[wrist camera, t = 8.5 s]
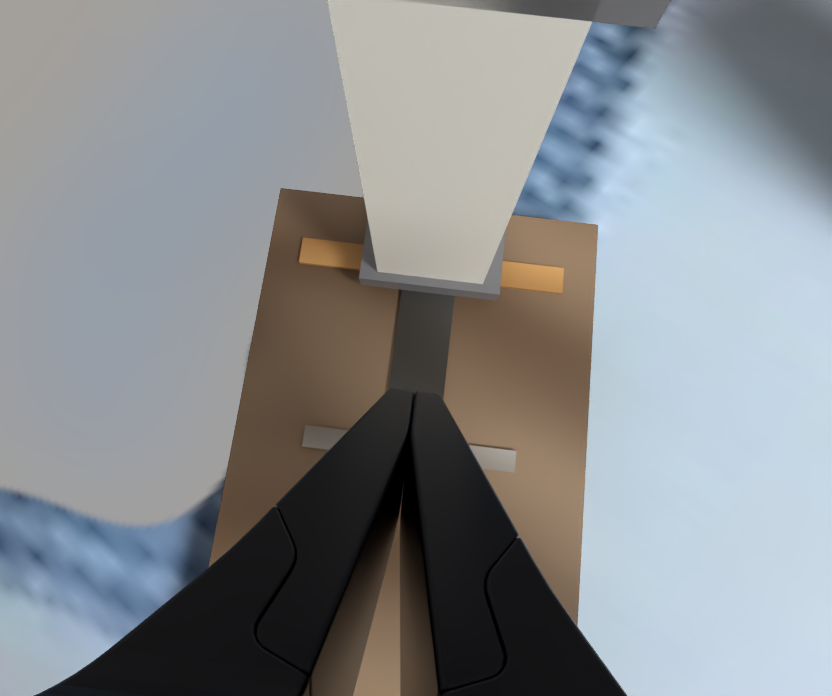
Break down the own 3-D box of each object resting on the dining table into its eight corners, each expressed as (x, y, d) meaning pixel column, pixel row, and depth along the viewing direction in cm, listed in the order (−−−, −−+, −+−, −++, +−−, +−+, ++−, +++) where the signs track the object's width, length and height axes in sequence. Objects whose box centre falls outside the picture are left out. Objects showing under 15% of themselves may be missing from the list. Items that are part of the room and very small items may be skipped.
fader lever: (502, 301, 15) (731, -83, 4) (354, 284, 15) (212, -138, 4) (511, 207, 16) (730, -334, 5) (368, 191, 16) (274, -378, 5)
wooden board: (535, 1052, 13) (552, 1135, 11) (146, 998, 13) (110, 1072, 12) (582, 244, 18) (599, 223, 16) (291, 210, 18) (280, 186, 16)
